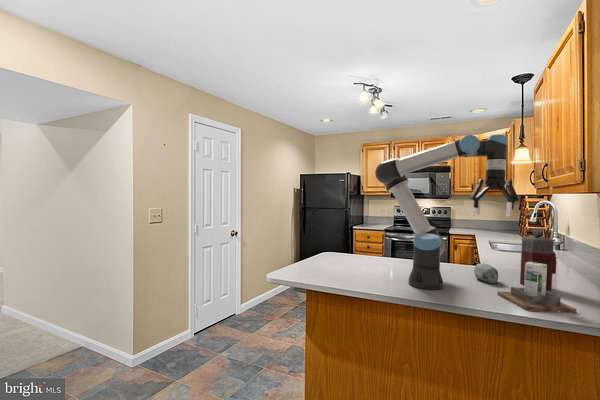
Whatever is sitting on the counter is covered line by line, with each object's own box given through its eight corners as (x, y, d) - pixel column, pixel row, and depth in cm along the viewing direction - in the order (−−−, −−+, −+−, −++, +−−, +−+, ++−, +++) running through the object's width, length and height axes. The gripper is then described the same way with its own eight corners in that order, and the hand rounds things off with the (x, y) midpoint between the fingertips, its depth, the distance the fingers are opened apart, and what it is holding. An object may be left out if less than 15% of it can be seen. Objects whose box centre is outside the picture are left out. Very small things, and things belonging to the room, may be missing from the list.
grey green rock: (506, 278, 147) (494, 259, 150) (487, 286, 148) (475, 267, 151) (495, 278, 160) (484, 260, 163) (477, 285, 161) (467, 267, 164)
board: (525, 310, 115) (526, 298, 115) (497, 294, 133) (498, 284, 133) (576, 312, 114) (576, 300, 114) (541, 296, 132) (541, 286, 132)
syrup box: (522, 298, 124) (524, 262, 124) (529, 296, 128) (530, 261, 127) (540, 302, 120) (541, 265, 119) (545, 300, 123) (547, 263, 123)
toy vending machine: (557, 290, 141) (560, 229, 141) (530, 289, 143) (533, 228, 142) (544, 285, 150) (547, 227, 150) (519, 283, 152) (522, 226, 151)
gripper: (470, 167, 138) (468, 215, 139) (530, 169, 136) (527, 217, 137) (463, 169, 146) (461, 214, 146) (519, 170, 144) (516, 216, 144)
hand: (492, 215), depth 141 cm, fingers open, 13 cm apart
